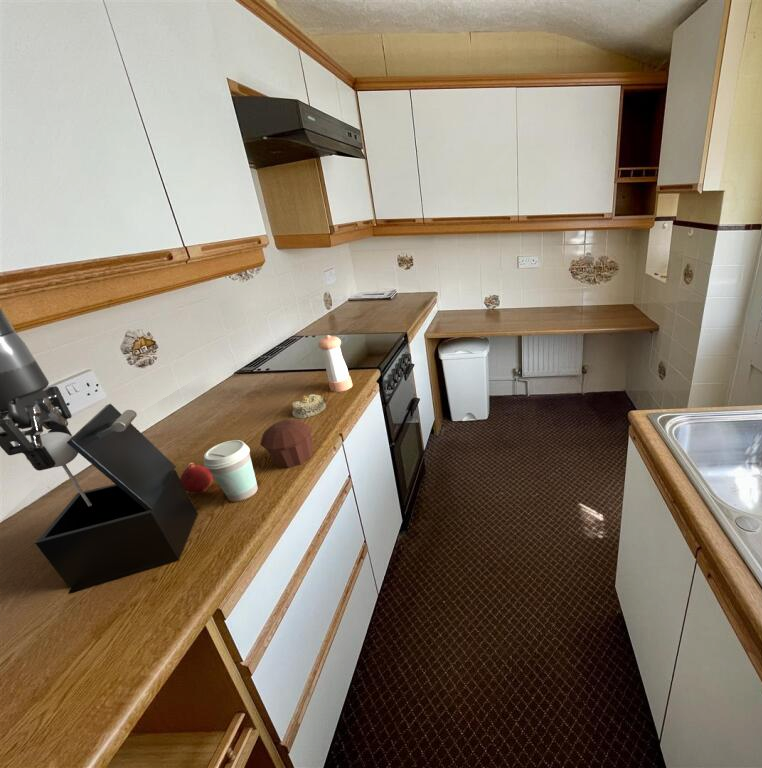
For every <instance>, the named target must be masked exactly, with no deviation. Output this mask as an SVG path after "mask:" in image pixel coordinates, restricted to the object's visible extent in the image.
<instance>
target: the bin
mask: <svg viewBox="0 0 762 768" xmlns="http://www.w3.org/2000/svg"><path fill="white" fill-rule="evenodd" d="M180 479H181V477H179V474H178V472H177V471H176V469H174V471H173V473H172V475H171V476H170V478H169V480H168V482H167V484H166V485H165V487H164V489H163V491H162V492H161V494H160V496H159V498H158V500H157V501H156V503H155V505H154V507H153V508H152V509H151V510H149V511H147V510H146V509H144V508H143V507H142V506H141V505H140V504H138V503H137V502H136V501H135V500H134V499H133V498H131V497H130V496H129V495H128V494H127V493H125V492H124V491H123V490H122V489H121V488H120V487H118V486H117V485H116V484H115V483H113V484H110V485H105V486H101V487H97V488H93V489H89V490H83V492H84V493H85V495H86V497H87V498H88V500H89V501H90V503H91V504H92V506H88V505H87V503H86V502H85V500H84V499H83V497H82V496H81V494H80V493H79V492H77V493H76V494H75V496H73V498H71V500H70V501H69V502H68V504H67V505H65V507H64V508H63V510H62V511H60V513H59V514H58V515H57V517H55V518H54V520H53V521H52V522H51V524H50V525H49V526H48V527H47V528H46V530H45V531H44V532H43V533H42V534H41V536H40V537H39V538H38V539H37V540H36V541H35V543H34V544H35V546H36V547H37V548H38V549H39V551H40V552H41V553H42V555H43V557H45V559H46V560H47V561H48V562H49V564H50V565H51V566H52V567H53V569H54V570H55V572H56V573H57V574H58V575H59V577H60V578H61V579H62V581H63V582H64V583H65V584H66V585H67V587H68V588H69V589H70V591H71V592H72V593H76V592H81V591H83V590H87V589H90V588H93V587H96V586H99V585H102V584H106V583H109V582H112V581H115V580H119V579H123V578H125V577H130V576H132V575H136V574H139V573H142V572H145V571H146V572H147V571H148V570H152V569H156V568H158V567H162V566H165V565H169V564H172V563H175V562H178V561H180V559H181V556H182V554H183V551H184V549H185V547H186V544H187V543H188V539H189V537H190V534H191V531H192V530H193V527H194V524H195V523H196V519H197V517H198V515H199V513H198V511H197V510H196V507H195V506H194V504H193V502H192V500H191V498H190V496H189V493H188V492H187V491H186V490H185V488H184V486H183V484H182V482H181V480H180Z"/></svg>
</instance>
